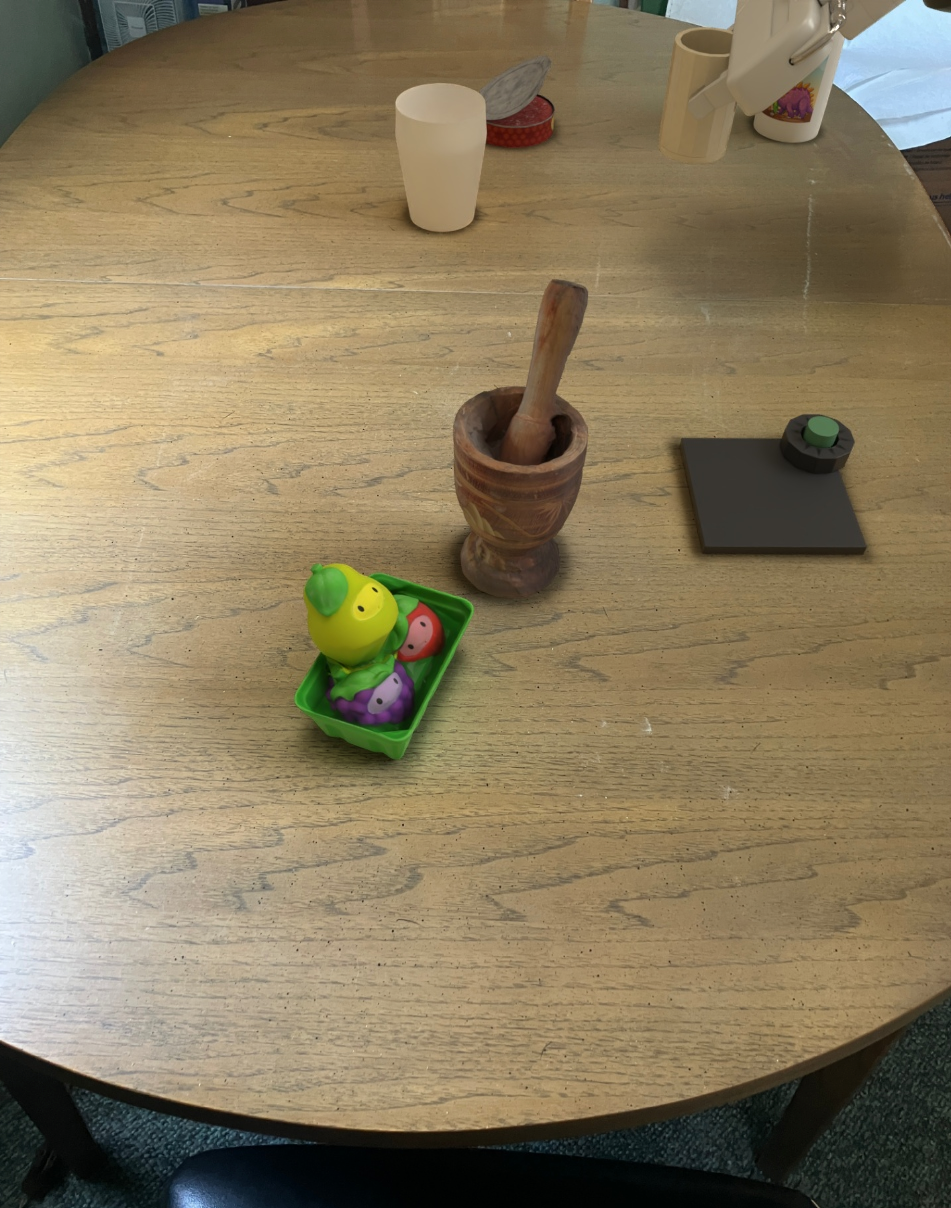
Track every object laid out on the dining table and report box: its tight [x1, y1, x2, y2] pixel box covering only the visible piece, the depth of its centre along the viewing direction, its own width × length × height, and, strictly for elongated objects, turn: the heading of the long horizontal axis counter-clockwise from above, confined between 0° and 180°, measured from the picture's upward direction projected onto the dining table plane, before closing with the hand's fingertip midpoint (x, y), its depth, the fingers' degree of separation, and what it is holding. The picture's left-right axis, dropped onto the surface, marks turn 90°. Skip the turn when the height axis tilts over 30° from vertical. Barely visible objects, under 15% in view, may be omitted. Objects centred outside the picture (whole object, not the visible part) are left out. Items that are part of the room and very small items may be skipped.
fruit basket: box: [293, 562, 475, 761], centre depth 58 cm, size 11×9×11 cm
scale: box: [679, 413, 868, 555], centre depth 74 cm, size 13×13×3 cm
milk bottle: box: [753, 31, 846, 144], centre depth 107 cm, size 8×8×20 cm
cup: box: [394, 82, 487, 233], centre depth 96 cm, size 9×9×12 cm
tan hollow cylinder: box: [657, 26, 738, 165], centre depth 84 cm, size 6×6×9 cm
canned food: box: [478, 55, 556, 149], centre depth 111 cm, size 11×10×10 cm
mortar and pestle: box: [452, 278, 589, 599], centre depth 63 cm, size 12×9×20 cm
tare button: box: [803, 416, 839, 448], centre depth 75 cm, size 2×2×1 cm
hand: (695, 91), depth 84 cm, fingers closed on tan hollow cylinder, 6 cm apart
